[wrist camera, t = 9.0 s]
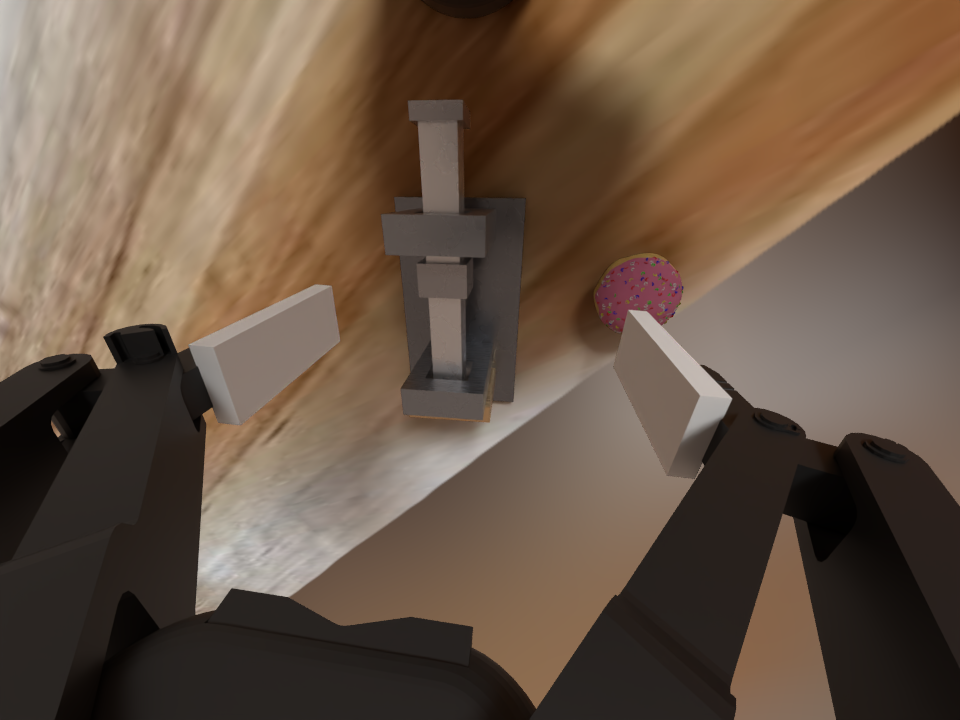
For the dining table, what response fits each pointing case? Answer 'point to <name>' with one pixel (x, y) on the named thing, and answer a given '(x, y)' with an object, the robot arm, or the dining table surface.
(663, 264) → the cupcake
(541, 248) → the dining table surface
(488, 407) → the block
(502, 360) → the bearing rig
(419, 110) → the shaft
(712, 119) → the dining table surface
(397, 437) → the dining table surface
